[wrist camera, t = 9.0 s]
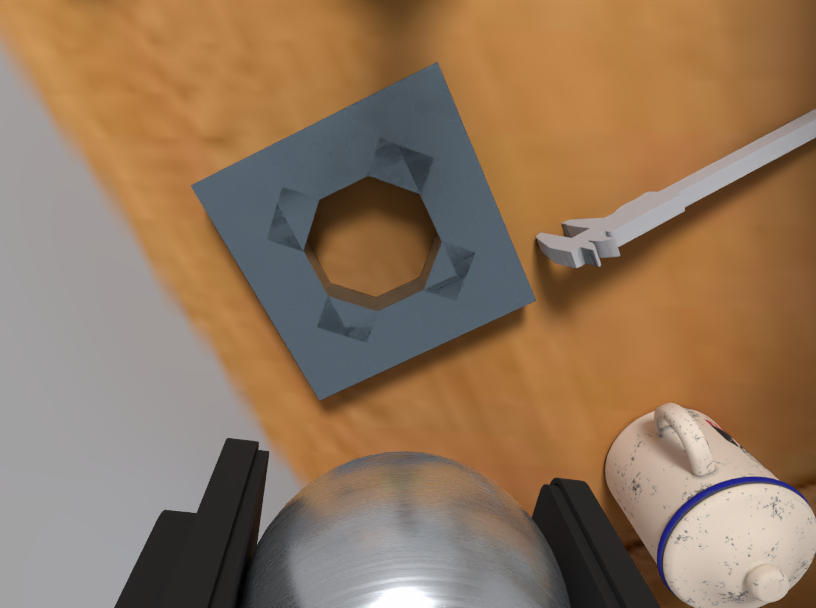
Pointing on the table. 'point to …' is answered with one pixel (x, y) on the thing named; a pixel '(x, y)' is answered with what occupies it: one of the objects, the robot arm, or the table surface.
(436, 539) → the steel ball
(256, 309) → the table surface
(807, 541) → the teacup with lid
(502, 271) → the housing plate
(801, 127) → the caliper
